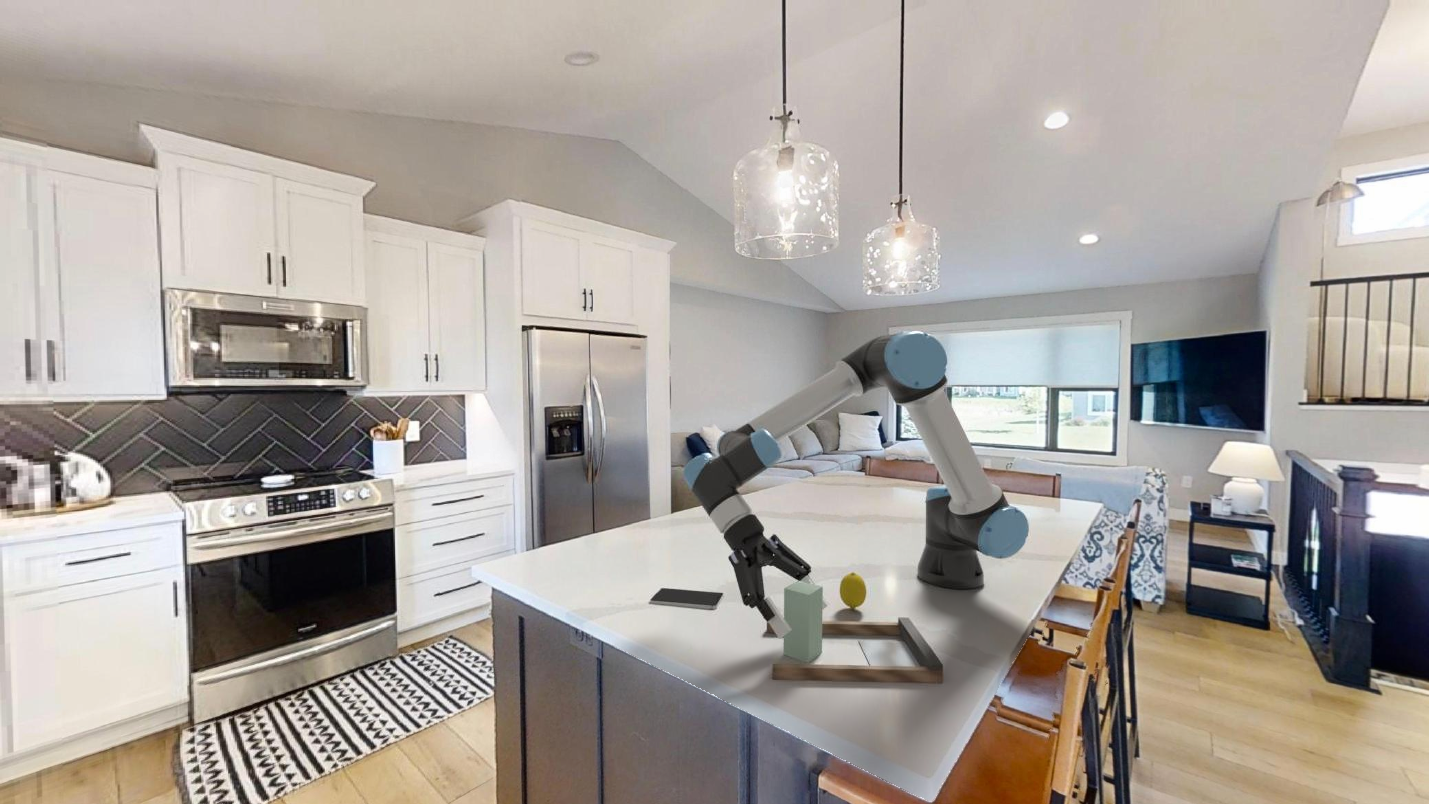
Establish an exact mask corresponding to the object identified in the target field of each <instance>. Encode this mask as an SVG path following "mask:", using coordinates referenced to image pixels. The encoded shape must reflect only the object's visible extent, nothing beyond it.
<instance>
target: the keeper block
mask: <svg viewBox="0 0 1429 804" xmlns="http://www.w3.org/2000/svg"><path fill="white" fill-rule="evenodd" d="M814 584H815V583H814ZM814 584H810V583H806V582H802V581H798V580H797V581H795V582H792V584H790V585H787V586H786V587H784V589H783V618H784V619H785V621H786V622H787V623H788V625H789V626H790V628H791V629H792V630H791V631H790V632H789V633H787V634H786V635H785V636H784V637H783V655H785V656H788V657H790V658H793V659H795V660H798V661H802V662H804V663H806V664H810V662H812V661H813V660H814V659H815V658H817V657H818V656H820V654H822V653H823V634H822V621H823V610H822V603H823V597H824V596H823V593H824V592H823V590H824V589H823V586H821V585H818V584H815V585H814Z"/></svg>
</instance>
